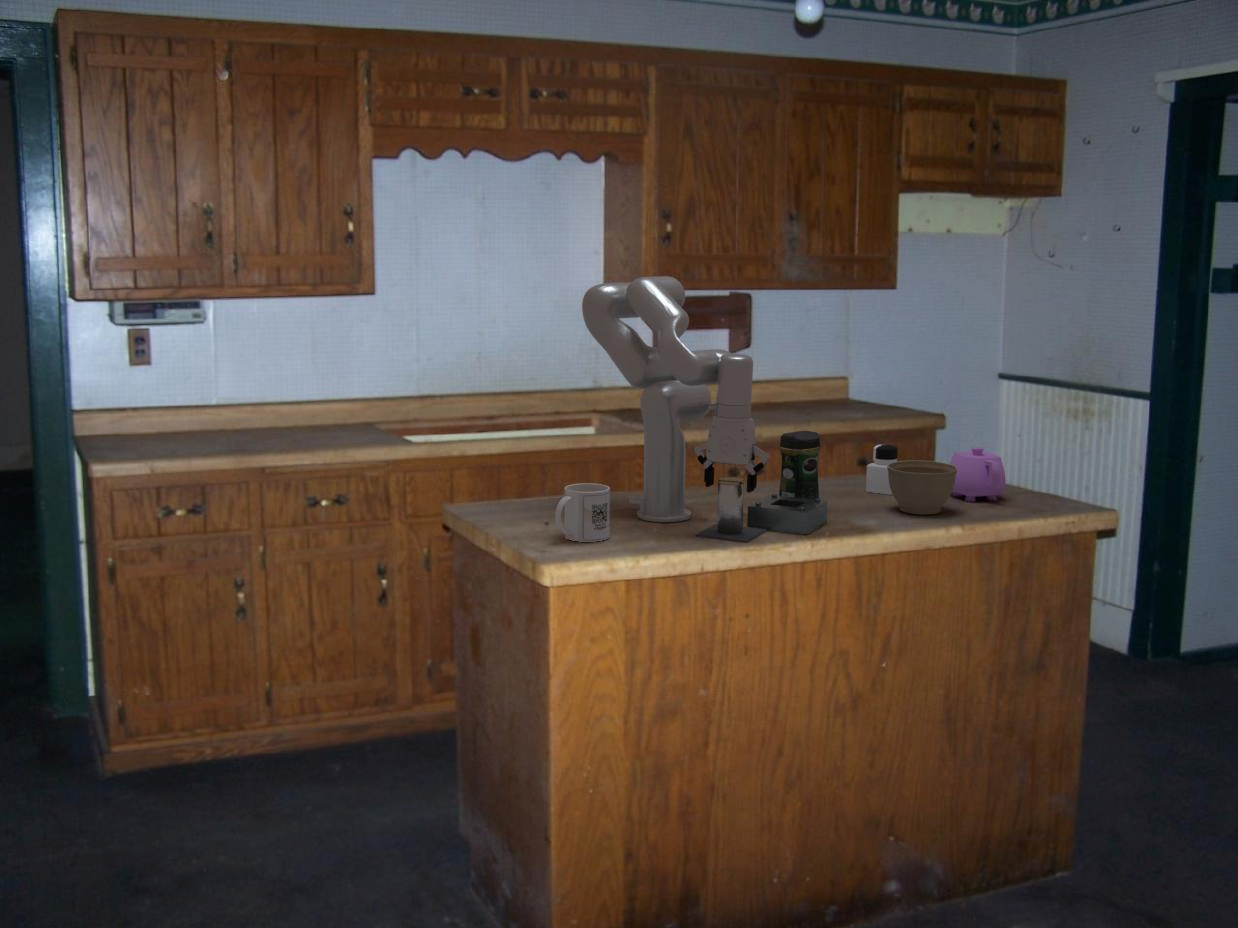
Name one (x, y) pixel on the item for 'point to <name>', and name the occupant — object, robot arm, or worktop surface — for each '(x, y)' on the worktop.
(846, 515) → the worktop surface
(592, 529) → the mug
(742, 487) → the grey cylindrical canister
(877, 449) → the medicine bottle
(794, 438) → the coffee jar
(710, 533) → the rubber mat
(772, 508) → the housing
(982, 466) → the teapot
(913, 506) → the planter bowl
